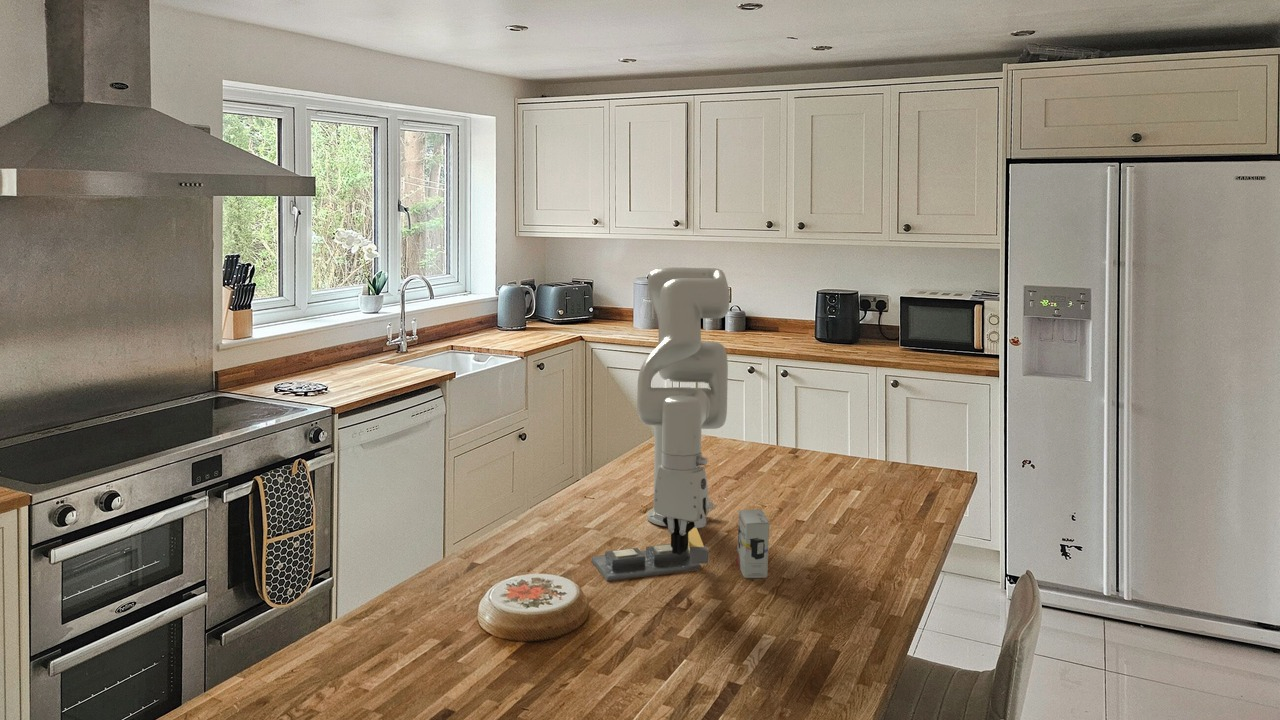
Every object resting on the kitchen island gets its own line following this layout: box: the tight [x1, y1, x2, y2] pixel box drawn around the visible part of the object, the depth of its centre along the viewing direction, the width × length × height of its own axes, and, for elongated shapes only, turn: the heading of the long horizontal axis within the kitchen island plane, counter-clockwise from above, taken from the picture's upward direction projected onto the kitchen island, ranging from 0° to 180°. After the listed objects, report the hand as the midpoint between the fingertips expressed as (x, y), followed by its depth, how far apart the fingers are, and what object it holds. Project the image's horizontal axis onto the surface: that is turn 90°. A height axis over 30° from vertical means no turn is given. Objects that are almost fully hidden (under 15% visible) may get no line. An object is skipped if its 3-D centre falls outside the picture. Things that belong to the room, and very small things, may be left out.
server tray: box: [591, 543, 701, 582], centre depth 201 cm, size 20×11×7 cm, turn 109°
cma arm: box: [679, 520, 709, 565], centre depth 194 cm, size 22×4×2 cm, turn 5°
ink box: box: [736, 508, 770, 579], centre depth 199 cm, size 9×5×12 cm, turn 5°
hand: (679, 551), depth 189 cm, fingers closed
